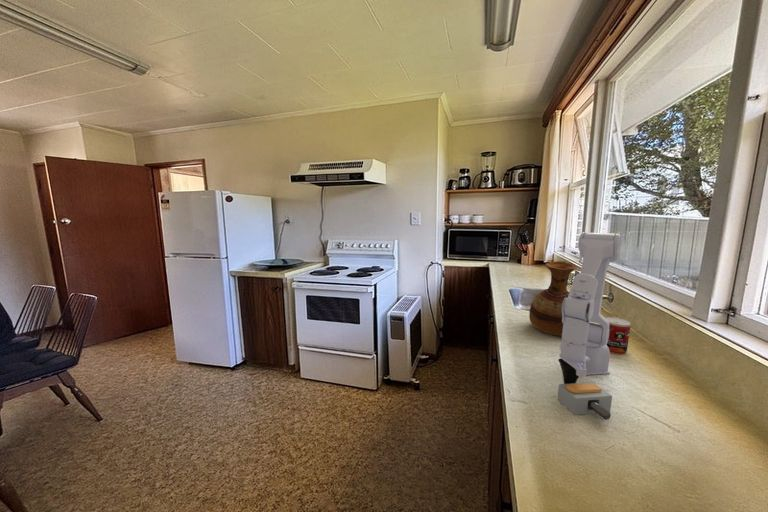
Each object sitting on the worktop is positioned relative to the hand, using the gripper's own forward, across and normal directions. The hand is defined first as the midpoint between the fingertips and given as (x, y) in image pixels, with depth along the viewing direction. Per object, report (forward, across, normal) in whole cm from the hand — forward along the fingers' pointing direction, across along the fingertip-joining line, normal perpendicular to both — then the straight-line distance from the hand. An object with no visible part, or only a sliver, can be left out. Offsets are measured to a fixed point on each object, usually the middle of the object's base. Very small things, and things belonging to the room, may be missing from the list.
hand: (568, 386), depth 82 cm
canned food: (+2, +34, -25) cm, 43 cm away
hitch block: (+2, -5, -2) cm, 6 cm away
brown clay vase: (+2, +48, -9) cm, 49 cm away
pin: (+2, -6, -3) cm, 7 cm away
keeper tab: (-3, -5, -1) cm, 6 cm away
